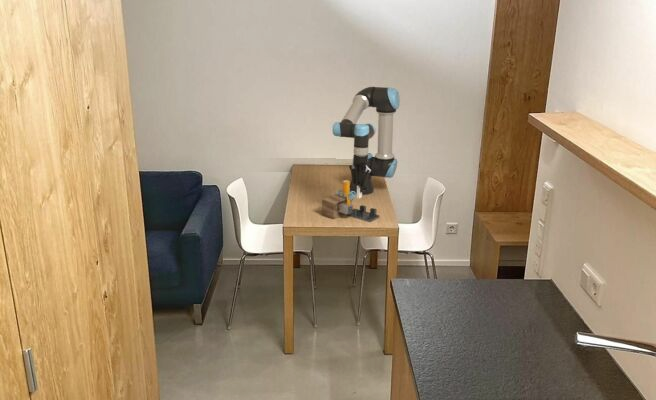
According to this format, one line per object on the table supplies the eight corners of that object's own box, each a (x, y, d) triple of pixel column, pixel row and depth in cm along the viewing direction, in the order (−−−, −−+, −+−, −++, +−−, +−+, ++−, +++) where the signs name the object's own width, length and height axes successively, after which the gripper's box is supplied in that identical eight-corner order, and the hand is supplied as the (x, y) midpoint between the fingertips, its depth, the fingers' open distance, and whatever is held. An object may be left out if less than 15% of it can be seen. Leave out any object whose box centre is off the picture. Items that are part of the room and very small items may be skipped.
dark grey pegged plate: (355, 210, 346) (356, 203, 344) (379, 217, 337) (379, 210, 335) (346, 215, 339) (346, 207, 338) (369, 222, 330) (370, 214, 328)
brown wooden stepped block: (335, 209, 347) (335, 194, 343) (346, 213, 342) (347, 197, 339) (322, 215, 338) (322, 199, 335) (333, 219, 333) (333, 203, 330)
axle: (330, 206, 343) (330, 198, 341) (352, 212, 334) (352, 205, 333) (326, 208, 340) (326, 200, 338) (347, 214, 331) (348, 207, 330)
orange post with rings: (352, 210, 346) (353, 185, 341) (334, 208, 348) (335, 183, 343) (356, 203, 358) (357, 178, 353) (338, 201, 360) (339, 177, 355)
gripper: (346, 153, 319) (345, 196, 326) (366, 158, 311) (365, 202, 319) (354, 150, 324) (353, 193, 332) (375, 155, 316) (373, 198, 324)
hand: (359, 197), depth 325 cm, fingers closed
